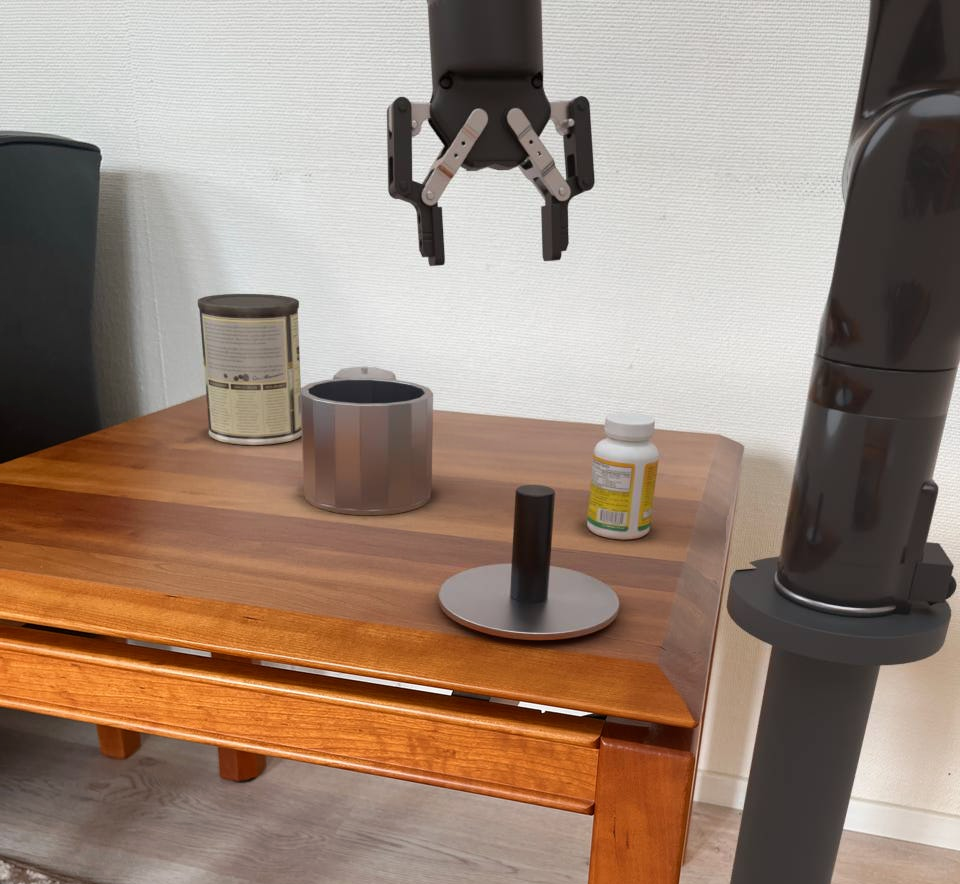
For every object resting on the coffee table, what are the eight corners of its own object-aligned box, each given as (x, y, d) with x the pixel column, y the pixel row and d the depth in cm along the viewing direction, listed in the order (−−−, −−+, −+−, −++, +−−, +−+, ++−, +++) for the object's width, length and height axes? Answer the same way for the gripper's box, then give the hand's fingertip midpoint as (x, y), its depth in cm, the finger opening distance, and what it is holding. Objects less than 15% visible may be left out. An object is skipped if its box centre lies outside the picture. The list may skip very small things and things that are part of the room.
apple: (406, 432, 115) (407, 373, 112) (337, 434, 113) (336, 374, 110) (390, 416, 122) (390, 359, 119) (324, 418, 120) (323, 361, 117)
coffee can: (195, 427, 113) (184, 294, 107) (283, 419, 118) (277, 292, 112) (225, 449, 105) (215, 307, 99) (318, 440, 110) (314, 304, 104)
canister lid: (623, 586, 75) (635, 473, 72) (611, 658, 64) (624, 528, 60) (458, 569, 77) (462, 458, 73) (419, 636, 66) (421, 509, 62)
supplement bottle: (601, 542, 84) (612, 426, 80) (577, 522, 88) (586, 411, 84) (660, 538, 85) (674, 424, 81) (633, 518, 90) (645, 409, 86)
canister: (442, 484, 97) (444, 383, 93) (413, 520, 87) (414, 409, 83) (327, 473, 99) (325, 374, 95) (285, 508, 89) (281, 398, 85)
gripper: (388, -18, 62) (408, 266, 67) (607, -14, 65) (609, 256, 71) (368, 14, 69) (387, 269, 74) (566, 17, 72) (571, 261, 78)
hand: (495, 263), depth 72 cm, fingers open, 8 cm apart
